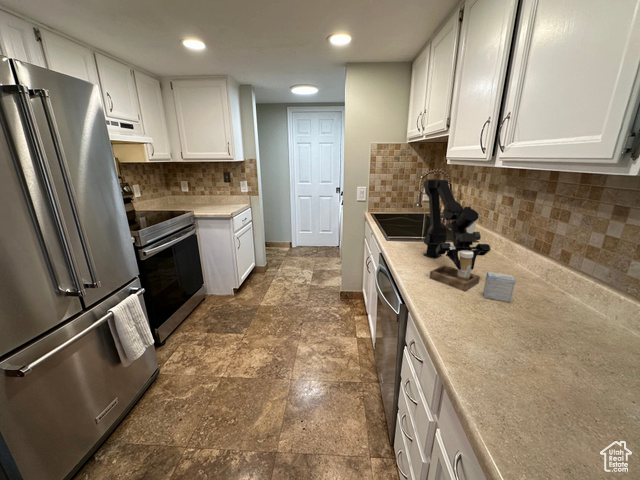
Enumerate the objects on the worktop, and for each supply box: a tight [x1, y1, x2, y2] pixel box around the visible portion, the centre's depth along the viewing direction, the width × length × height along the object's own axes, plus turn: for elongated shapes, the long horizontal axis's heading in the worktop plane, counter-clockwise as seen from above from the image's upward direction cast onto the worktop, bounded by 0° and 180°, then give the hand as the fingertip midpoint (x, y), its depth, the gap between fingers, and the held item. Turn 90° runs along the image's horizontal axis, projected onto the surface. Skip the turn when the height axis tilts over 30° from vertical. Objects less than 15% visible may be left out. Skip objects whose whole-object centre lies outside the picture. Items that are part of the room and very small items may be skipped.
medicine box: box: [482, 271, 516, 303], centre depth 93 cm, size 8×4×9 cm, turn 65°
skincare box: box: [466, 220, 477, 246], centre depth 151 cm, size 8×7×16 cm
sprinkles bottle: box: [456, 250, 473, 281], centre depth 103 cm, size 5×5×13 cm
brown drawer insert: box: [429, 264, 481, 292], centre depth 107 cm, size 15×11×3 cm
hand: (466, 269), depth 101 cm, fingers closed on sprinkles bottle, 4 cm apart
